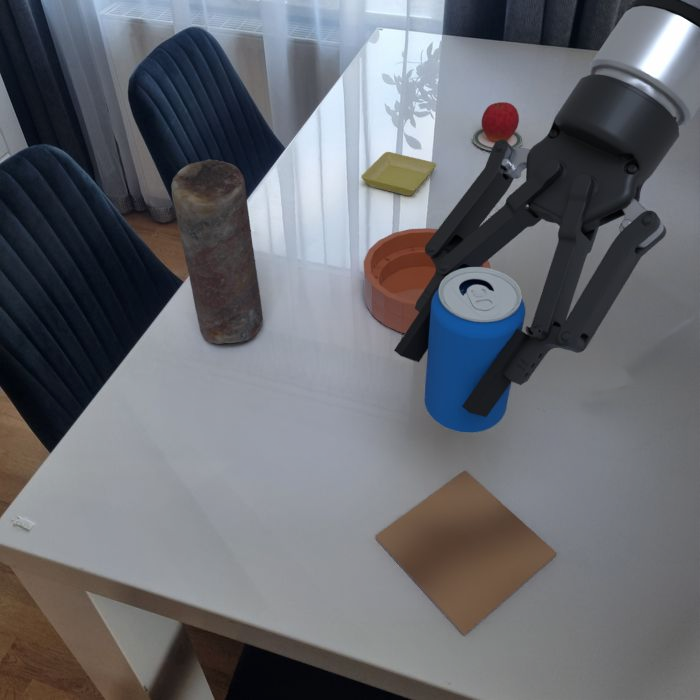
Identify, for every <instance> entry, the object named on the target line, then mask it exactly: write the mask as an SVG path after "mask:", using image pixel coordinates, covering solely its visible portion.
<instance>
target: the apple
mask: <svg viewBox="0 0 700 700" xmlns="http://www.w3.org/2000/svg"><path fill="white" fill-rule="evenodd" d="M519 122H520V116H519V112H518V109H517V108H516V106H515V105H513V104H512V103H509V102H507V101H506V102H505V101H503V102H502V101H501V102H494V103H491V104H490V105H488V106H487V107H486V108H485V110H484V112H483V115H482V117H481V128H479V129H478V130H476V131H475V132H474V133H473V134H472V139H471V140H472V142H473V143H474V144H475V145H476V146H477V147H479V148H480V149H483V150H486V151H490V152H491V151H492V148H493V146H494V144H495V143H496V142H497V141H499V140H503V139H504V140H506V141H507V142H508V143H509V144H510V145H511V146H512V147H518V148H520V147H521V146H522V144H523V143H524V138H523V135H522V134H520V133H519V132H518V131H517V128H518V126H519Z"/></svg>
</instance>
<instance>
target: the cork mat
mask: <svg viewBox="0 0 700 700" xmlns="http://www.w3.org/2000/svg"><path fill="white" fill-rule="evenodd" d="M375 540H376V541H377V543H378V544H379V545H380V546H381V547H382V548H383V549H384V551H385V552H386V553H388V555H389V556H390V557H391V559H393V560H394V561H395V563H396V564H397V565H398V566H399V567H400V569H402V570H403V571H404V573H406V575H407V576H408V577H409V578H410V579H411V580H412V581H413V582H414V584H415V585H416V586H417V587H418V588H419V589H420V590H421V591H422V592H423V593H424V595H425V596H427V598H428V599H429V600H430V601H431V602H432V603H433V605H435V607H436V608H437V609H438V610H439V611H440V612H441V613H442V615H444V616H445V618H446V619H447V620H448V621H449V622H450V623H451V624H452V625H453V626H454V627H455V629H456V630H457V631H458V632H459V633H460V634H461V635H462V636H463V637H466V636H467V635H468V634H469V633H470V632H471V631H473V629H475V628H476V627H477V626H478V625H479V624H481V623H482V622H483V621H484V620H485V619H486V618H487V617H489V616H490V615H491V614H492V613H493V612H494V611H495V610H497V608H500V606H501V605H502V604H503V603H505V602H506V601H507V600H509V598H510V597H511V596H513V595H514V594H515V593H516V592H517V591H518V590H519V589H521V588H522V587H523V586H524V585H525V584H526V583H528V582H529V581H530V580H531V579H532V578H533V577H534V576H535V575H537V574H538V573H539V572H540V571H542V569H544V568H545V567H546V566H547V565H548V564H549V563H551V562H552V561H553V560H554V559H555V558H556V557H557V554H558V553H557V551H555V549H553V548H552V547H551V546H550V545H549V544H548V543H547V542H545V541H544V540H543V539H542V538H541V537H540V536H539V535H537V533H536V532H534V531H533V529H531V528H530V527H528V525H527V524H526V523H524V521H522V519H520V518H519V517H518V516H517V515H516V514H515V513H513V512H512V511H511V510H510V509H509V508H508V507H507V506H505V504H503V503H502V502H501V501H500V500H499V499H498V498H497V497H496V496H494V494H492V493H491V492H490V491H489V490H488V489H487V488H486V487H485V486H483V485H482V484H481V482H479V481H478V480H477V479H476V478H475V477H474V476H472V475H471V474H470V473H469V472H468V471H467V470H464V471H462V472H461V473H459V474H457V476H455V477H454V478H452V480H450V481H448V482H447V483H446V484H444V485H443V486H442V487H440V488H439V489H438V490H436V491H435V492H433V493H432V494H431V495H430V496H428V497H426V498H425V499H424V500H422V501H421V502H420V503H419V504H417V505H416V506H414V507H413V508H411V510H409V511H407V512H406V513H405V514H404V515H402V516H401V517H399V518H398V519H396V520H395V521H394V522H392V524H390V525H388V526H387V527H386V528H384V529H383V530H382V531H380V532H379V533H377V534H376V535H375Z"/></svg>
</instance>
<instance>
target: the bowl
mask: <svg viewBox="0 0 700 700" xmlns="http://www.w3.org/2000/svg"><path fill="white" fill-rule="evenodd" d="M438 229H439V228H430V227H425V228H424V227H423V228H408V229H405V230H400V231H396V232H393V233H391V234H389V235H387V236H384V237H383V238H380V239H379V240H377V241H376V242H375V243H374V244H373V245H372V246H371V247H370V248H369V249H368V251H367V253H366V255H365V257H364V260H363V295H364V303H365V305H366V307H367V309H368V311H369V312H370V314H371V315H372V317H374V318H375V319H376V320H377V321H378V322H379V323H381V324H382V325H383V326H385V327H388V328H390V329H392V330H395V331H397V332H399V333H402V334H405V333H406V332H407V330H408V329H409V327H410V326H411V324H412V323H413V321H414V320H415V318H416V317H417V315H418V314H419V312H418V311H417V310H416V309H415V305H416V302H417V300H418V299H419V297H420V296H421V294H422V293H423V291H424V290H425V288H426V287H427V285H428V284H429V282H430V281H431V279H432V278H433V276H434V274H435V272H436V267H435V264H434V263H433V261H432V259H431V258H430V256H428V255H427V254H426V253H425V246H426V244H427V243H428V242H429V240H430V239H431V238H432V236H433V235H434V234H435V232H436V231H437V230H438ZM480 267H484V268H490V269H491V264H490V261H489V260H487V261H486V262H485V263H484V264H483V265H481V266H480Z"/></svg>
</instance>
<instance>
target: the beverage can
mask: <svg viewBox="0 0 700 700" xmlns="http://www.w3.org/2000/svg"><path fill="white" fill-rule="evenodd" d="M522 294H523V293H522V290H521V288H520V286H519V284H518V283H517V282H516V281H515V280H514V279H513V278H512V277H510V276H509V275H508V274H506V273H504V272H502V271H500V270H497V269H493V268H491V267H490V268H484V267H468V268H463V269H459V270H456V271H454V272H452V273H450V274H449V275H447V276H446V277H445V278H444V279H443V280H442V282H441V283H440V286H439V288H438V290H437V291H436V292H435V294H434V296H433V298H432V302H431V314H430V328H429V341H428V349H427V355H426V356H427V357H426V371H425V382H424V383H425V384H424V397H423V399H424V400H423V401H424V407H425V409H426V411H427V413H428V415H429V416H430V417H431V418H432V419H433V421H435V422H436V423H437V424H438V425H440V426H442V427H444V428H445V429H447V430H450V431H454V432H456V433H465V434H474V433H481V432H484V431H487V430H489V429H492V428H494V427H495V426H496V425H498V424H499V423H500V422H501V421H502V419H503V418H504V416H505V415H506V411H507V406H508V401H509V397H510V391H511V388H512V387H511V386H512V382H511V383H510V385H509V386H508V388H507V389H506V390H505V392H504V393H503V395H502V396H501V397H500V399H499V400H498V402H497V403H496V404H495V406H494V407H493V409H492V410H491V411H490V413H489V414H488V416H487V417H483V416H480V415H476V414H472V413H469V412H468V411H467V410H466V409H464V408H463V407H462V405H463V404H464V403H465V401H466V400H467V398H468V397H469V395H470V394H471V393H472V391H473V390H474V388H475V387H476V386H477V384H478V383H479V381H480V380H481V378H482V377H483V376H484V374H485V373H486V371H487V370H488V368H489V367H490V366H491V364H492V363H493V361H494V360H495V359H496V357H497V356H498V354H499V353H500V351H501V350H502V349H503V347H504V346H505V344H506V343H507V342H508V340H509V339H510V338H511V336H512V335H513V334H514V332H515V330H516V329H519V330H521V331H523V327H524V323H525V318H526V305H525V301H524V299H523V297H522V296H523V295H522Z"/></svg>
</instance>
